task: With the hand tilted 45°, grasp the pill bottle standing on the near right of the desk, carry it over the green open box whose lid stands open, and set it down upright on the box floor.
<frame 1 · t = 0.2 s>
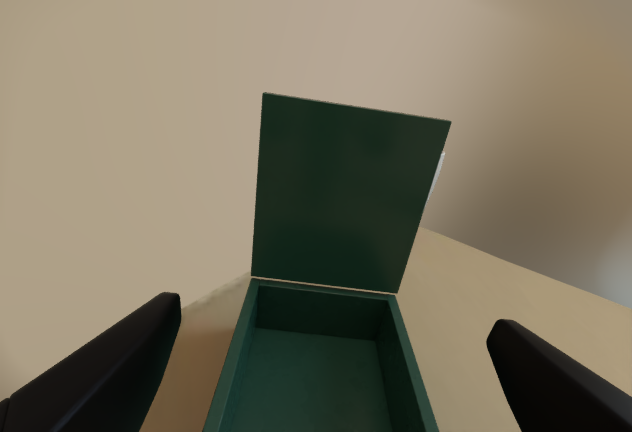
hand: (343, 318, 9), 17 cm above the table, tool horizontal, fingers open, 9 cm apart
green open box: (313, 405, 23), on the table
green box lid: (338, 197, 25), point 13 cm above the table, hinge at 92.0°
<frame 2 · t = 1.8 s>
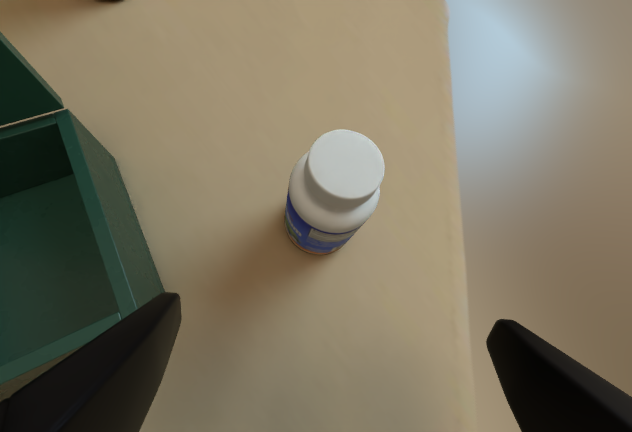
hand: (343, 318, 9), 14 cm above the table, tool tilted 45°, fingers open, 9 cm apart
green open box: (46, 271, 20), on the table
pill bottle: (318, 223, 24), on the table
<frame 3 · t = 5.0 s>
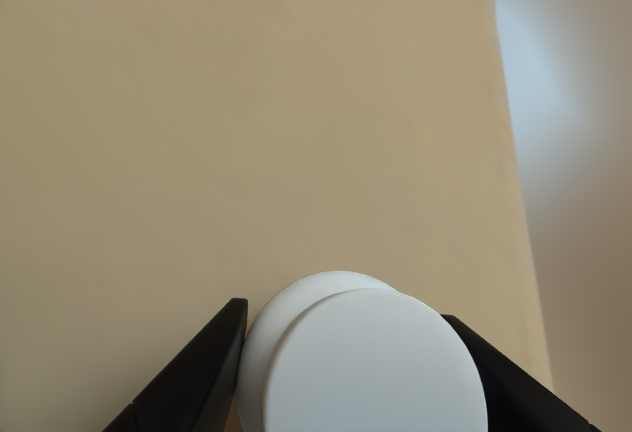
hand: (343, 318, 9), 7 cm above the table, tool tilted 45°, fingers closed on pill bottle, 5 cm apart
pill bottle: (310, 348, 14), on the table, touching gripper
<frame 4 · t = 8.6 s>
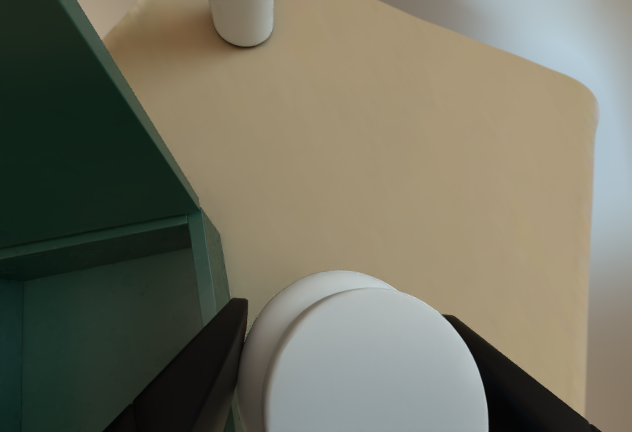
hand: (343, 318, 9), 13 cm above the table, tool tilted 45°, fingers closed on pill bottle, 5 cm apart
green open box: (133, 357, 19), on the table
pill bottle: (311, 348, 14), point 6 cm above the table, touching gripper
white tumbler: (244, 29, 28), on the table
when the fingers open (7 cm above the table, at t = 12.5 s): pill bottle stays where it is, resting on green open box.
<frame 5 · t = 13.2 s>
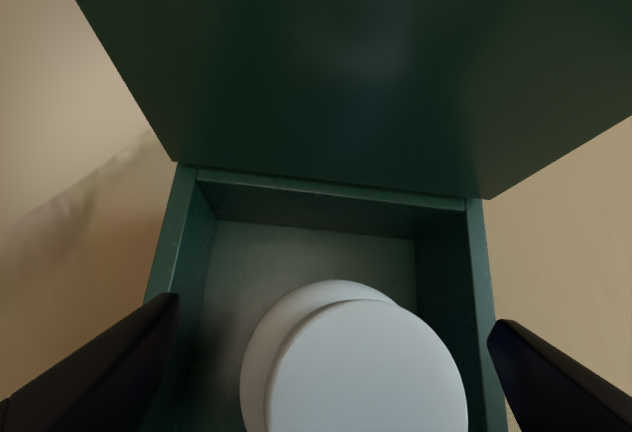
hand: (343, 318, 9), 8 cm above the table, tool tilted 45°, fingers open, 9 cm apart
green open box: (309, 346, 16), on the table
pill bottle: (309, 350, 15), point 1 cm above the table, touching green open box
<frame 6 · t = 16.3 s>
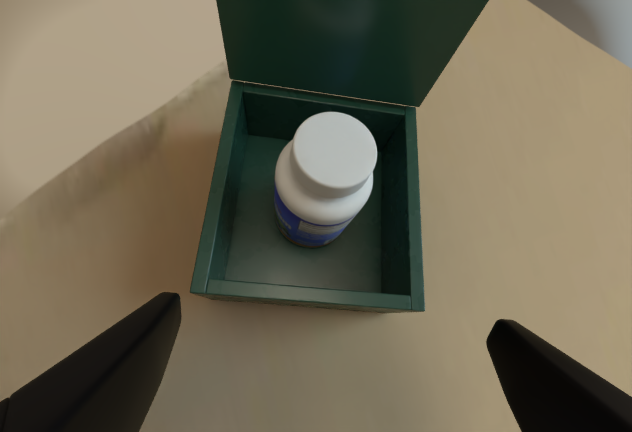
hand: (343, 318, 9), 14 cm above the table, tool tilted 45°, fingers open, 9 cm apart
green open box: (309, 215, 24), on the table
pill bottle: (310, 215, 23), point 1 cm above the table, touching green open box
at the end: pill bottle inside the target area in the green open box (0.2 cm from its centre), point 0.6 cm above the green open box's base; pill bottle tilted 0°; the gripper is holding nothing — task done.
